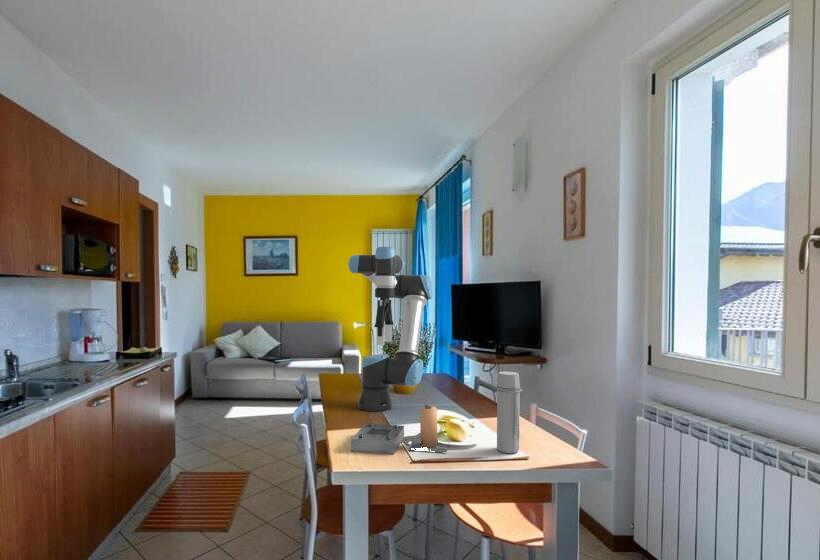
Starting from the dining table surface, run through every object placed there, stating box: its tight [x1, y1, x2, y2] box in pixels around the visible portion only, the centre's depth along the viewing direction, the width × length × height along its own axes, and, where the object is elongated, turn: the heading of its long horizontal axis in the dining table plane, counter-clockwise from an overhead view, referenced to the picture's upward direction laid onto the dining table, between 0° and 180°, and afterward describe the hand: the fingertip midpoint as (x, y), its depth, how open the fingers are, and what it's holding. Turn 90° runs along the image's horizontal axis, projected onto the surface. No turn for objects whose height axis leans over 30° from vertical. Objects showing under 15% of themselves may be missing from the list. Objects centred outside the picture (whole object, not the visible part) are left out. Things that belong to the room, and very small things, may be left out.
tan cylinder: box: [419, 403, 439, 448], centre depth 152 cm, size 6×6×13 cm
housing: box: [350, 423, 405, 455], centre depth 154 cm, size 18×14×5 cm
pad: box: [408, 438, 448, 452], centre depth 152 cm, size 12×12×1 cm
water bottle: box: [496, 371, 523, 454], centre depth 148 cm, size 9×8×25 cm
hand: (384, 343), depth 174 cm, fingers open, 13 cm apart
